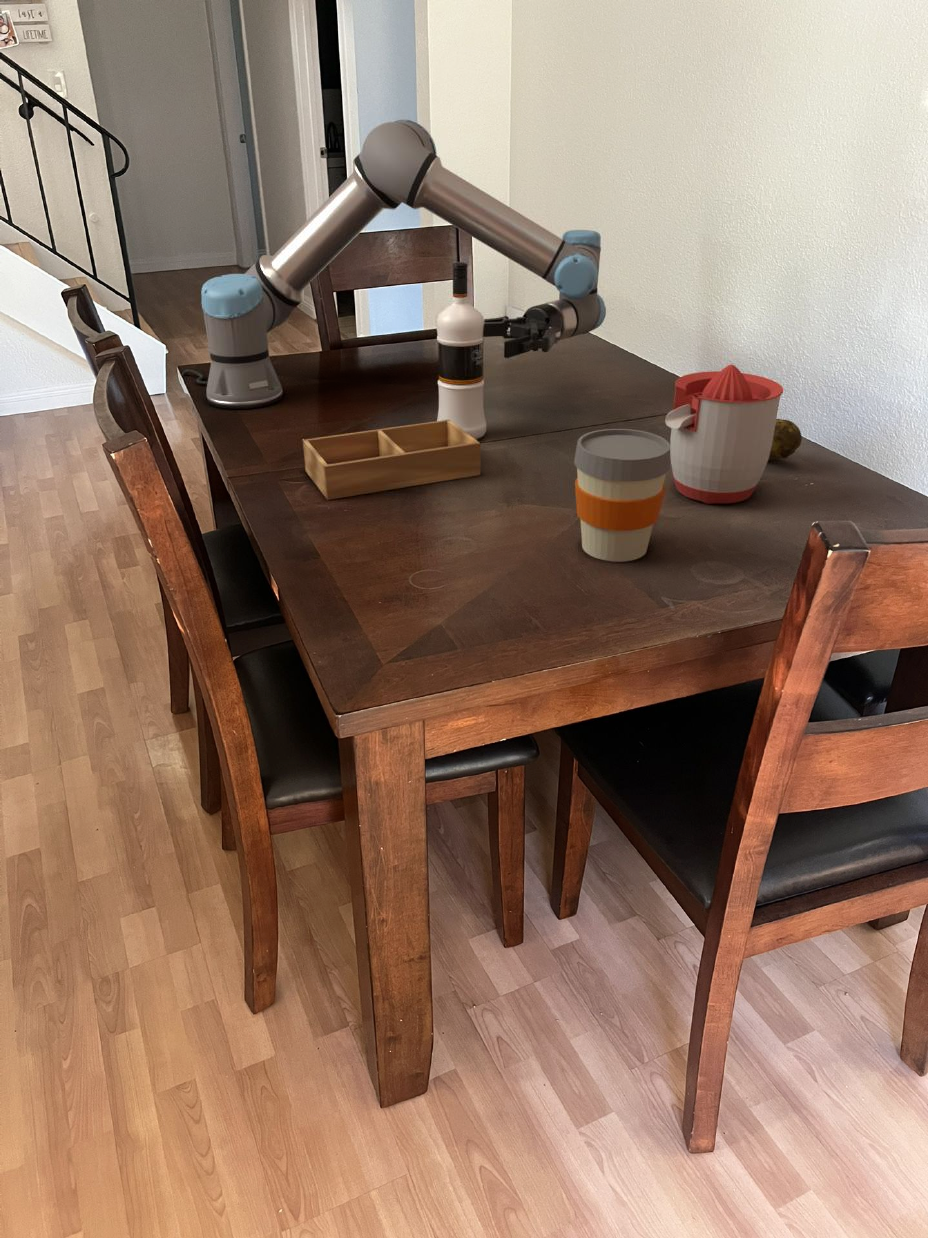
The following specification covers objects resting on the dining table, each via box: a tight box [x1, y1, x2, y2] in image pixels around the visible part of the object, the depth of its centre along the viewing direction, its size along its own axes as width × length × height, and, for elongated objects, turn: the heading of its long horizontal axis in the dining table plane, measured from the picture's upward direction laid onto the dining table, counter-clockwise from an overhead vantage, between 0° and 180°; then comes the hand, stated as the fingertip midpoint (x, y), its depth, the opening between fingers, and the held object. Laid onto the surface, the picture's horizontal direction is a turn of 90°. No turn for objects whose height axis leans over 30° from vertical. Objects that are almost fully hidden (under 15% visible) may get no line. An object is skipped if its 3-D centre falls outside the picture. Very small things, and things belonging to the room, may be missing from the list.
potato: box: [768, 418, 803, 461], centre depth 152 cm, size 8×13×8 cm, turn 12°
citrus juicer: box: [664, 363, 784, 505], centre depth 136 cm, size 16×17×20 cm
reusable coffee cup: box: [573, 428, 671, 563], centre depth 121 cm, size 13×13×15 cm
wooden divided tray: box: [302, 420, 481, 501], centre depth 148 cm, size 13×26×6 cm, turn 113°
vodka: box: [435, 261, 487, 441], centre depth 158 cm, size 9×9×30 cm
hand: (476, 343), depth 160 cm, fingers open, 13 cm apart
